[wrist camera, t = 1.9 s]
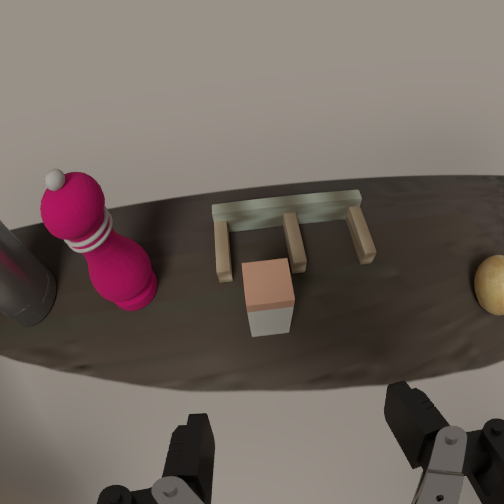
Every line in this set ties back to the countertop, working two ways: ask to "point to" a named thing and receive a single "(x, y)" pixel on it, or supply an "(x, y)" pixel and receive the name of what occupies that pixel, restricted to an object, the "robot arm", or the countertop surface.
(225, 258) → the comb rack
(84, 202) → the pepper mill
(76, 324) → the countertop surface
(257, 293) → the plug
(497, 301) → the onion
